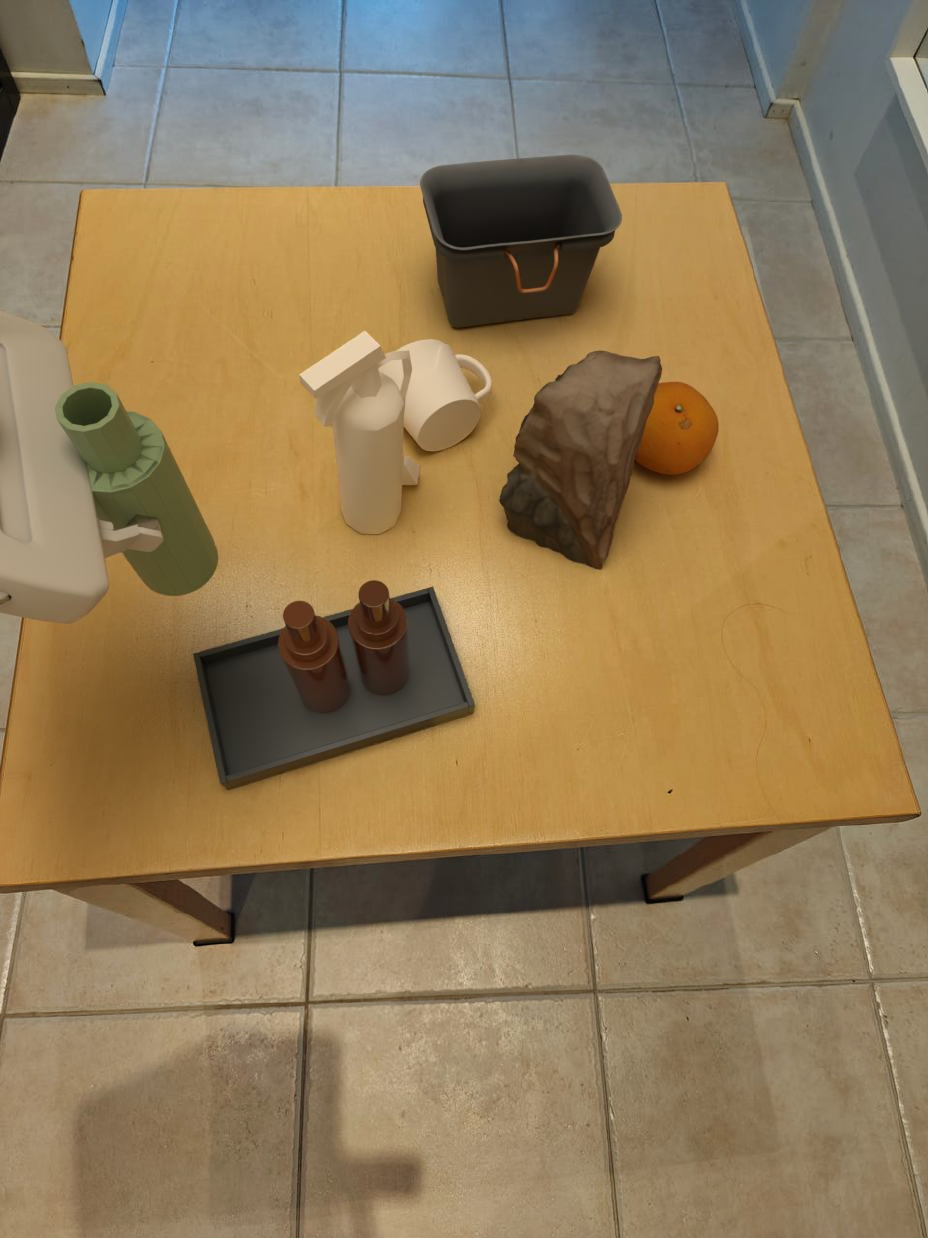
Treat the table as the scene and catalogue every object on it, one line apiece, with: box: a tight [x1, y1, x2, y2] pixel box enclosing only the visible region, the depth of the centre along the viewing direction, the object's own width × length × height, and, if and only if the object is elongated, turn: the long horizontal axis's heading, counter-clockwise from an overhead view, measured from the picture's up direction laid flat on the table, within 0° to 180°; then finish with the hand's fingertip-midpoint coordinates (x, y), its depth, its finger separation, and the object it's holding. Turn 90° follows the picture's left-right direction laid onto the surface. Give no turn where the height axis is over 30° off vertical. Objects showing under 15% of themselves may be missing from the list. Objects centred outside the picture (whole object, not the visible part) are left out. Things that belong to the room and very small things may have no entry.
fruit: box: [634, 381, 720, 476], centre depth 87 cm, size 10×10×8 cm
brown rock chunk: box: [498, 350, 663, 570], centre depth 78 cm, size 13×13×20 cm
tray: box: [192, 586, 476, 791], centre depth 76 cm, size 24×13×3 cm, turn 109°
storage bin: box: [419, 154, 623, 328], centre depth 93 cm, size 21×16×14 cm
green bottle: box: [55, 381, 219, 597], centre depth 52 cm, size 6×6×18 cm
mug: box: [378, 338, 493, 452], centre depth 88 cm, size 12×9×8 cm
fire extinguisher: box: [298, 330, 421, 535], centre depth 75 cm, size 7×12×25 cm, turn 129°
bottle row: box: [278, 579, 410, 713], centre depth 69 cm, size 11×5×18 cm, turn 109°
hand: (147, 489), depth 52 cm, fingers closed on green bottle, 6 cm apart
